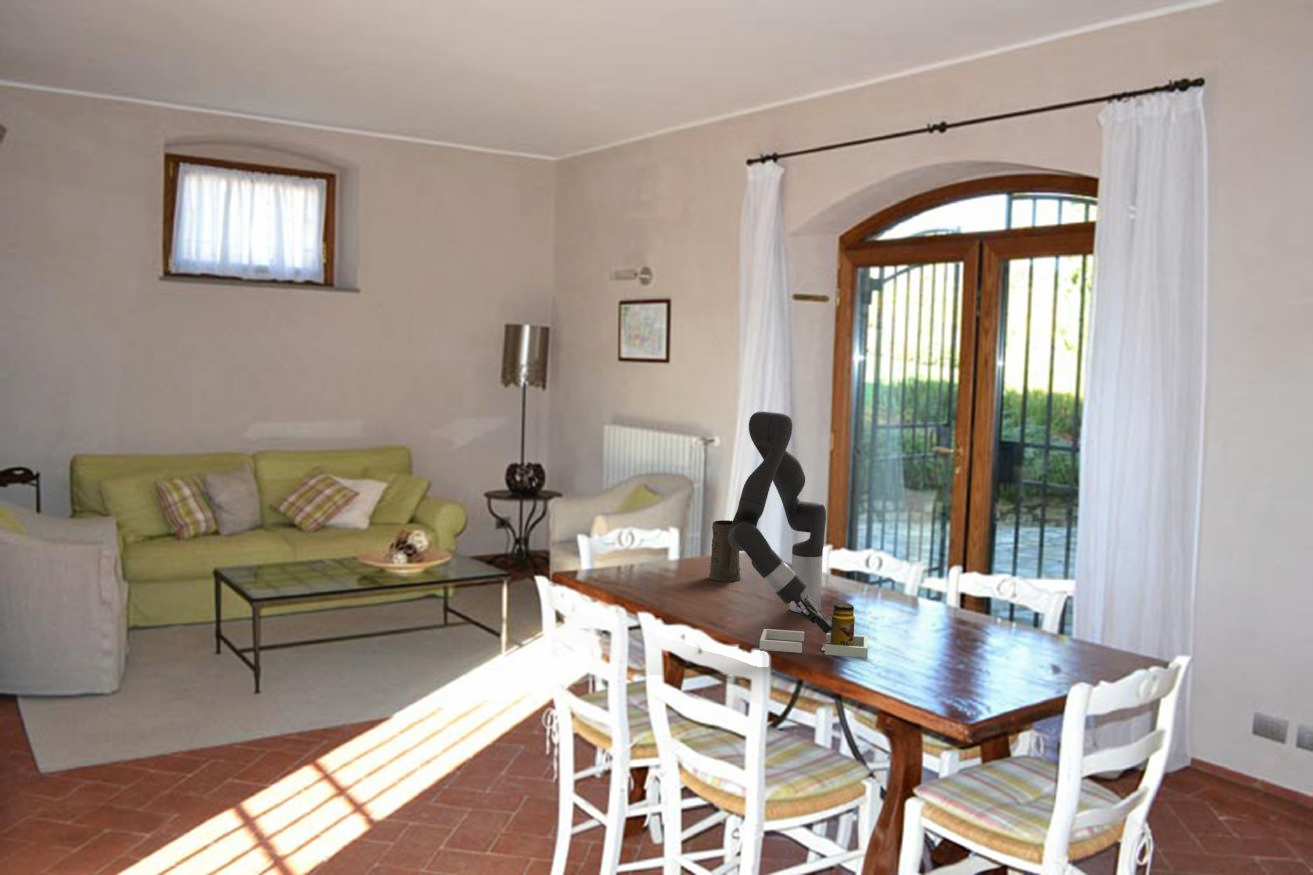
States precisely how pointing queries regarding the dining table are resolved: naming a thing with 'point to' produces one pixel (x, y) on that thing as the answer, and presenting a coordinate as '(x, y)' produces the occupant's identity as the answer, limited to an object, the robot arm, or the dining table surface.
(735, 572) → the beer stein
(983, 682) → the dining table surface
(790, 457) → the robot arm
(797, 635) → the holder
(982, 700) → the dining table surface
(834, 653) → the white shallow tray
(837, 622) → the condiment
